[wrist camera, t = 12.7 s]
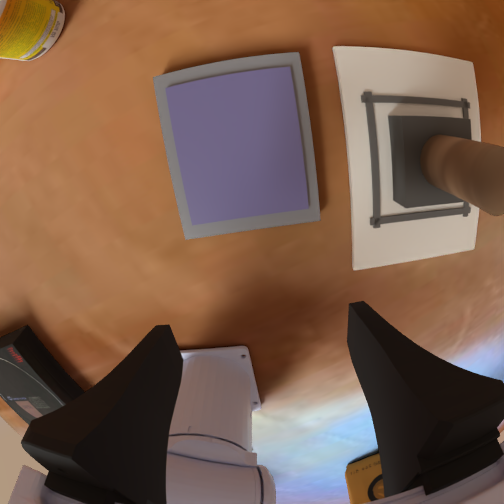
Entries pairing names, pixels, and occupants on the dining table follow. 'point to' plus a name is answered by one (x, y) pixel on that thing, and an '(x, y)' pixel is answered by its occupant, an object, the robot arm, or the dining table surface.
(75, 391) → the portable cd player
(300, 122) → the ink pad
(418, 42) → the dining table surface
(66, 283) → the dining table surface
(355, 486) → the coffee package
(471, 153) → the stamp
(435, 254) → the marked board
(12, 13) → the supplement bottle
